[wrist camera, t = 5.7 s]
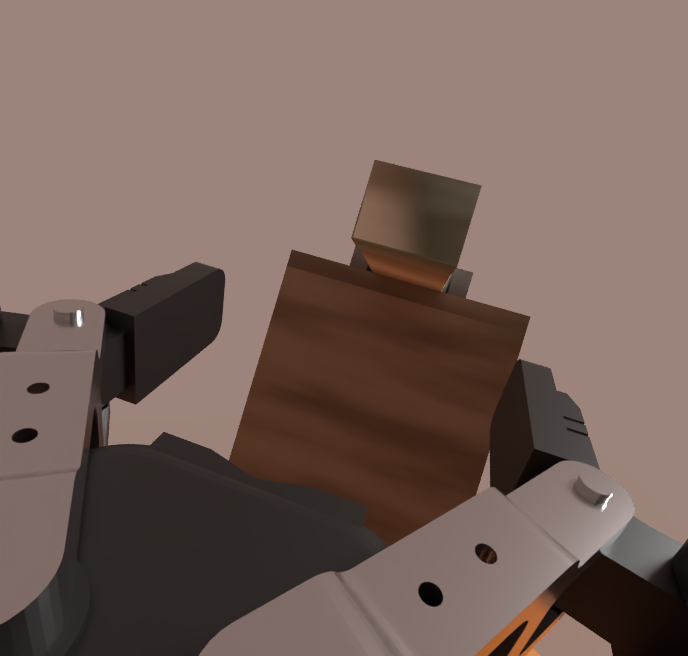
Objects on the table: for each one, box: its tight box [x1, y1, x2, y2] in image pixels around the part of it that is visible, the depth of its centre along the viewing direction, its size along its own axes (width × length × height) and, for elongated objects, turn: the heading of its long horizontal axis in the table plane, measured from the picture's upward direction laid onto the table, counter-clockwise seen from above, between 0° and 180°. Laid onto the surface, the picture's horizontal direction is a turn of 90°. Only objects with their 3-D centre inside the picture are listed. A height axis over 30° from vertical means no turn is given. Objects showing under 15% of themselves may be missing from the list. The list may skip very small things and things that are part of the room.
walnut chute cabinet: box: [229, 246, 530, 546], centre depth 35 cm, size 18×14×34 cm
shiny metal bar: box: [352, 160, 481, 291], centre depth 29 cm, size 24×4×3 cm, turn 171°
